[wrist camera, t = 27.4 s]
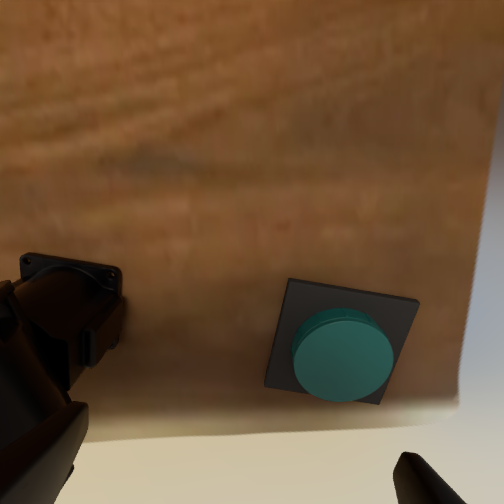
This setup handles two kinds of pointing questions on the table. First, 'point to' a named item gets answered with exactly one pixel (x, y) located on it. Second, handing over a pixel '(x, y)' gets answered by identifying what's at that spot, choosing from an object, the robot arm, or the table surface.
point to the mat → (328, 297)
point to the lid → (341, 355)
